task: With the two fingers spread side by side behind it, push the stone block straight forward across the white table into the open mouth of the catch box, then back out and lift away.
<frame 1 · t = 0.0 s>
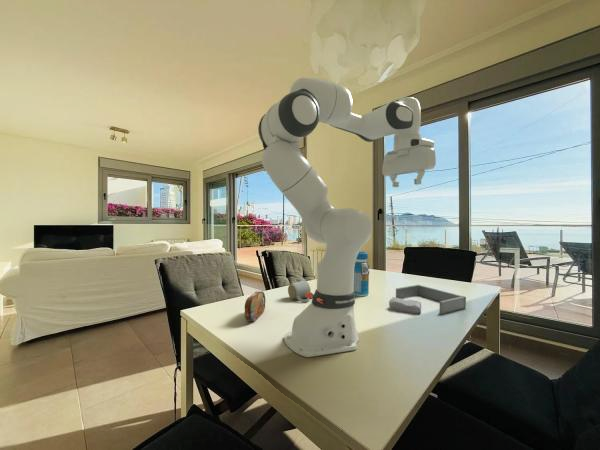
hand: (406, 185, 94), 48 cm above the table, tool pointing down, fingers open, 8 cm apart
ceramic mug: (300, 299, 118), on the table
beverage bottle: (359, 294, 127), on the table
stone block: (405, 309, 107), on the table
catch box: (427, 303, 114), on the table
tin: (255, 317, 97), on the table
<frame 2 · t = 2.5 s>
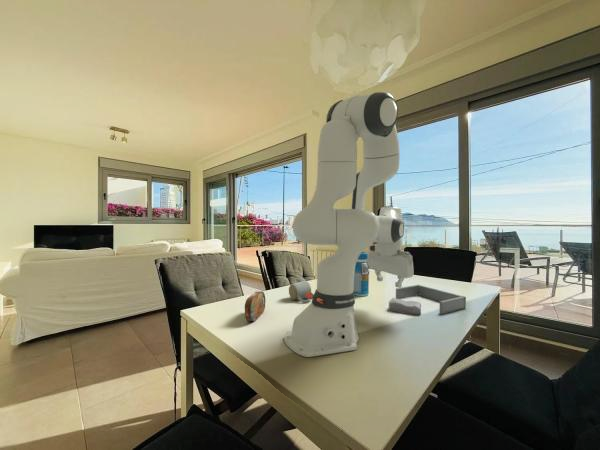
hand: (388, 283, 103), 11 cm above the table, tool pointing down, fingers open, 8 cm apart
stone block: (405, 310, 106), on the table
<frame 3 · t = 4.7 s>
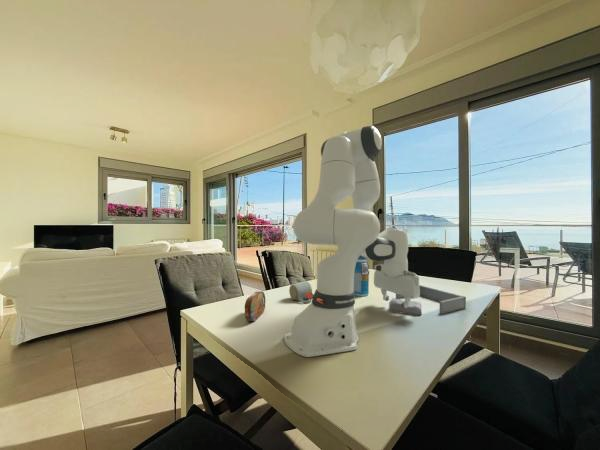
hand: (395, 303, 104), 3 cm above the table, tool pointing down, fingers open, 8 cm apart
stone block: (405, 310, 106), on the table, touching gripper
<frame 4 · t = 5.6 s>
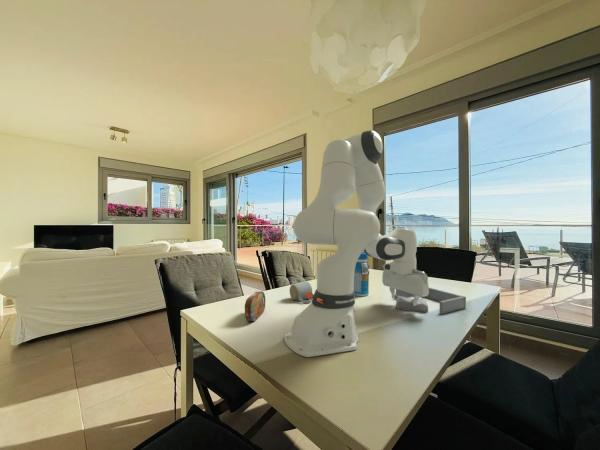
hand: (403, 301, 107), 3 cm above the table, tool pointing down, fingers open, 8 cm apart
stone block: (411, 307, 108), on the table, touching gripper
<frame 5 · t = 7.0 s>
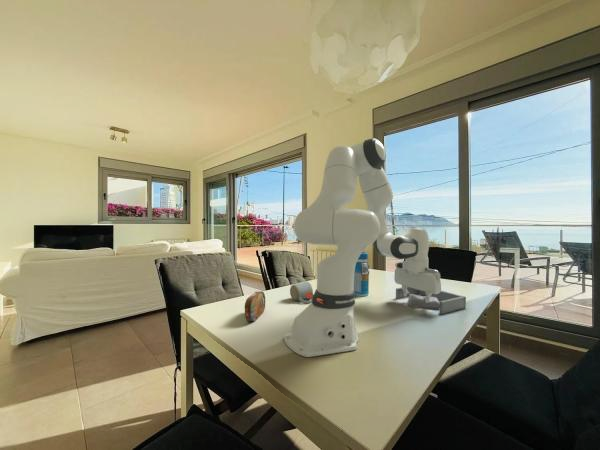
hand: (415, 299, 110), 3 cm above the table, tool pointing down, fingers open, 8 cm apart
stone block: (422, 305, 112), on the table, touching gripper
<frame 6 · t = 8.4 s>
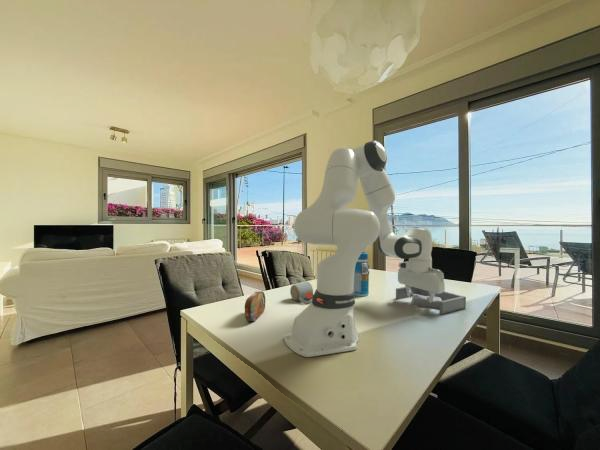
hand: (419, 298, 111), 3 cm above the table, tool pointing down, fingers open, 8 cm apart
stone block: (426, 305, 113), on the table
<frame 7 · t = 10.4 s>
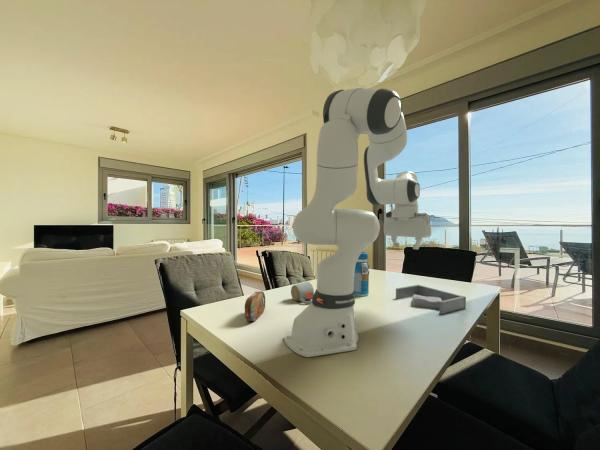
hand: (405, 248, 105), 24 cm above the table, tool pointing down, fingers open, 8 cm apart
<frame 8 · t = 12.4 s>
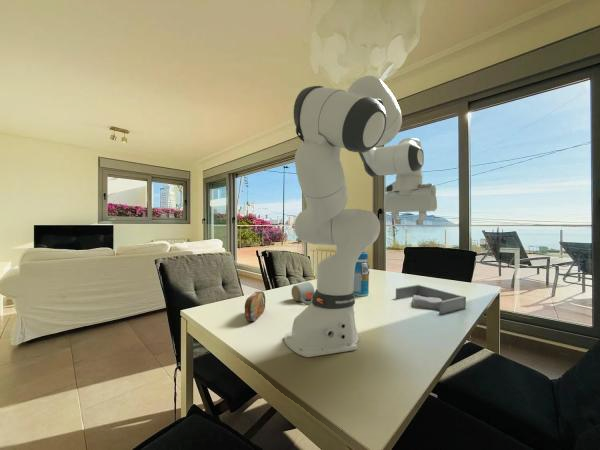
hand: (408, 224, 95), 34 cm above the table, tool pointing down, fingers open, 8 cm apart
at the end: stone block inside the target area on the catch box (4.8 cm from its centre), point -0.5 cm above the catch box's base; stone block tilted 0°; stone block moved 11.3 cm from its start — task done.
